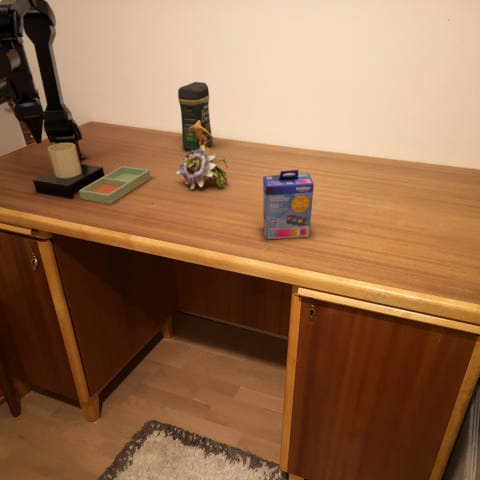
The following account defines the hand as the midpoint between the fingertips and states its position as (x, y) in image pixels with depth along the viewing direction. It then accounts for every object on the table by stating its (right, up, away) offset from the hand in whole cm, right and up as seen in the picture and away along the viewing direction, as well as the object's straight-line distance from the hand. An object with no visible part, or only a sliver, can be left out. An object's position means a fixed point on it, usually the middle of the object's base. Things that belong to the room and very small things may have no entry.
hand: (37, 138), depth 117 cm
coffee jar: (+38, +9, +30) cm, 49 cm away
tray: (+18, -11, +7) cm, 22 cm away
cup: (+5, -7, +7) cm, 11 cm away
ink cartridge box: (+61, -27, -17) cm, 69 cm away
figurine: (+41, 0, +20) cm, 45 cm away
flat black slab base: (+5, -9, +9) cm, 14 cm away
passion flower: (+42, -10, +6) cm, 43 cm away
